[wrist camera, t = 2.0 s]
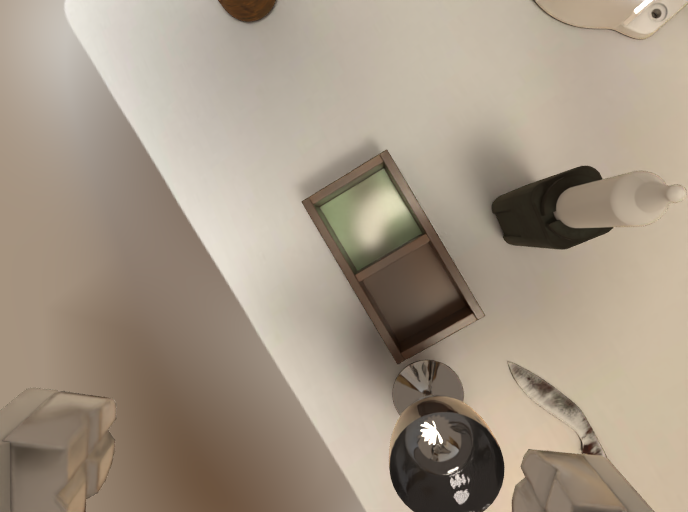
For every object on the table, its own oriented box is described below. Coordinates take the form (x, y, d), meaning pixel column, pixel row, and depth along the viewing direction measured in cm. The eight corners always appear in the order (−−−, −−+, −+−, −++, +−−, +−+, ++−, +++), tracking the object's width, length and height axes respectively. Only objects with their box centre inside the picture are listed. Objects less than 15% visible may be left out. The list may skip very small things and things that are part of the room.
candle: (487, 201, 46) (604, 163, 22) (537, 180, 46) (715, 117, 21) (507, 249, 46) (647, 266, 22) (557, 228, 46) (759, 222, 21)
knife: (488, 380, 46) (527, 347, 46) (485, 377, 48) (523, 345, 48) (616, 529, 45) (657, 496, 45) (609, 521, 47) (648, 489, 47)
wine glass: (373, 382, 48) (367, 448, 33) (439, 341, 47) (463, 390, 33) (416, 447, 48) (429, 543, 33) (483, 407, 47) (527, 487, 32)
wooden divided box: (386, 157, 47) (386, 149, 43) (475, 307, 47) (485, 315, 42) (309, 204, 48) (301, 201, 43) (396, 352, 48) (397, 364, 43)
